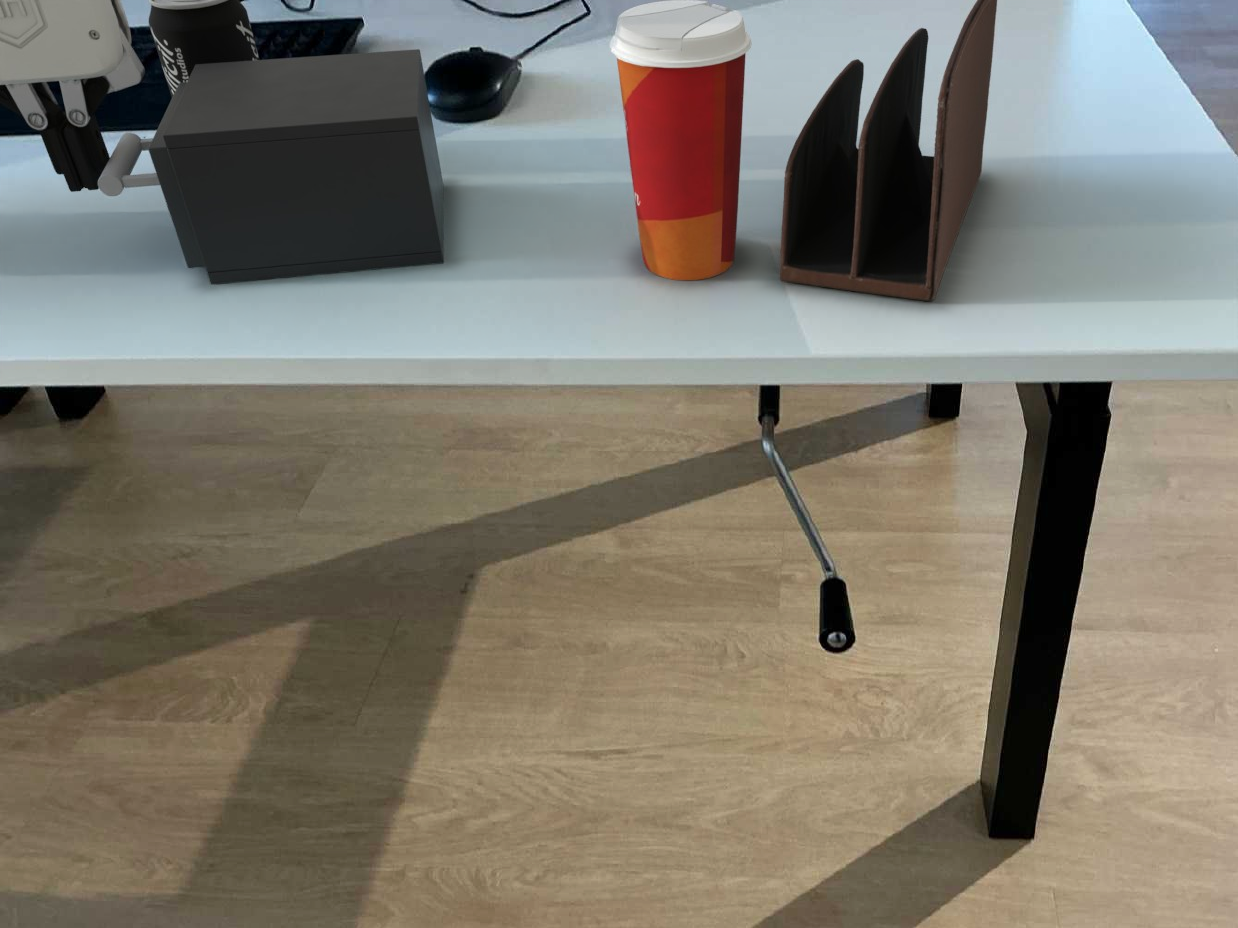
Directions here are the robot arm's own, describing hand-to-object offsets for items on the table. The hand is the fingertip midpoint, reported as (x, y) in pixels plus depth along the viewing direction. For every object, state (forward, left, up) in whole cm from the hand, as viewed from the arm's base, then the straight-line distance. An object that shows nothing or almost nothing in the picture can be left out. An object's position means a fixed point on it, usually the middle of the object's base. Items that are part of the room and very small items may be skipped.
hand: (89, 181), depth 77 cm
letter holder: (+51, -7, -5) cm, 52 cm away
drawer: (+10, 0, -4) cm, 11 cm away
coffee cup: (+37, -9, -5) cm, 39 cm away
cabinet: (+14, 0, -5) cm, 15 cm away
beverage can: (+6, +14, -5) cm, 16 cm away
